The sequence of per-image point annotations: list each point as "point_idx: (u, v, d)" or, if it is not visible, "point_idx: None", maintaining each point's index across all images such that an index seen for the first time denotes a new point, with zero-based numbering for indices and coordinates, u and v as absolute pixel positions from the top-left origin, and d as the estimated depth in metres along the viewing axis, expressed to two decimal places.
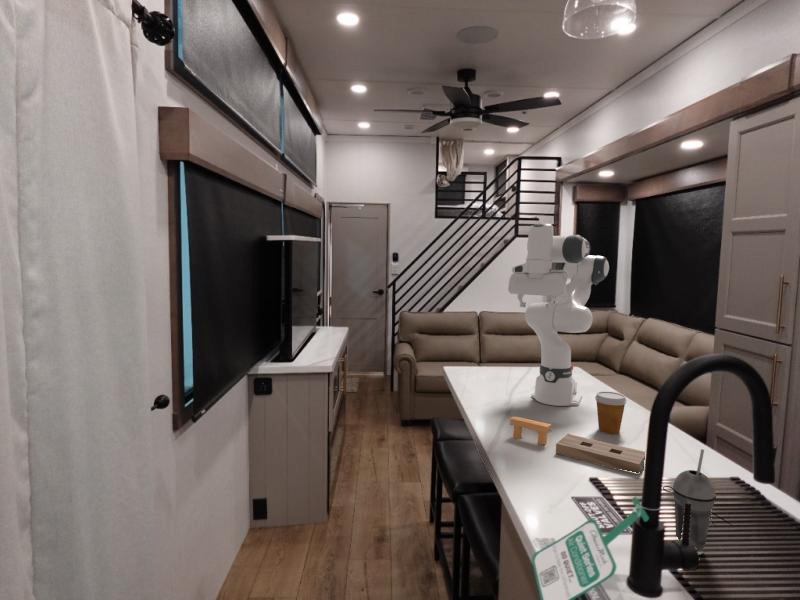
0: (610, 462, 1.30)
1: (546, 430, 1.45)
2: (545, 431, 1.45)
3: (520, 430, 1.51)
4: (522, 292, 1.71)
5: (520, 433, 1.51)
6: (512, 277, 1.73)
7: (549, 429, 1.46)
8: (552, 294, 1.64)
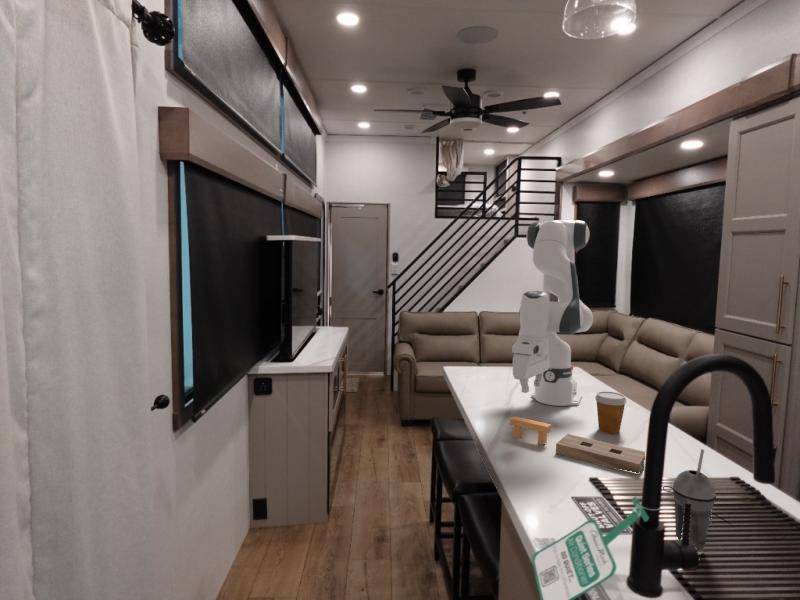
0: (610, 462, 1.30)
1: (546, 430, 1.45)
2: (545, 431, 1.45)
3: (520, 430, 1.51)
4: (532, 375, 1.43)
5: (520, 433, 1.51)
6: (529, 360, 1.39)
7: (549, 429, 1.46)
8: (545, 370, 1.52)
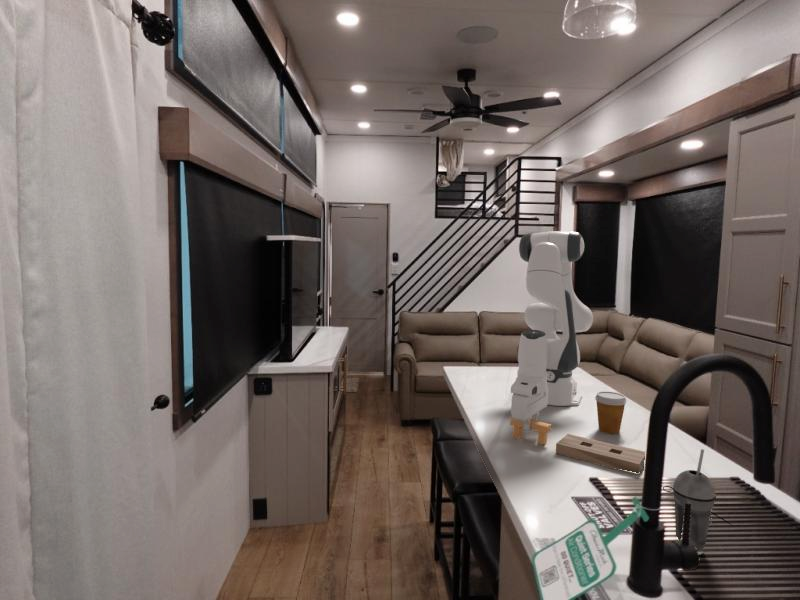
0: (610, 462, 1.30)
1: (546, 430, 1.45)
2: (545, 431, 1.45)
3: (520, 430, 1.51)
4: (530, 415, 1.44)
5: (520, 433, 1.51)
6: (527, 402, 1.40)
7: (549, 429, 1.46)
8: (544, 407, 1.53)
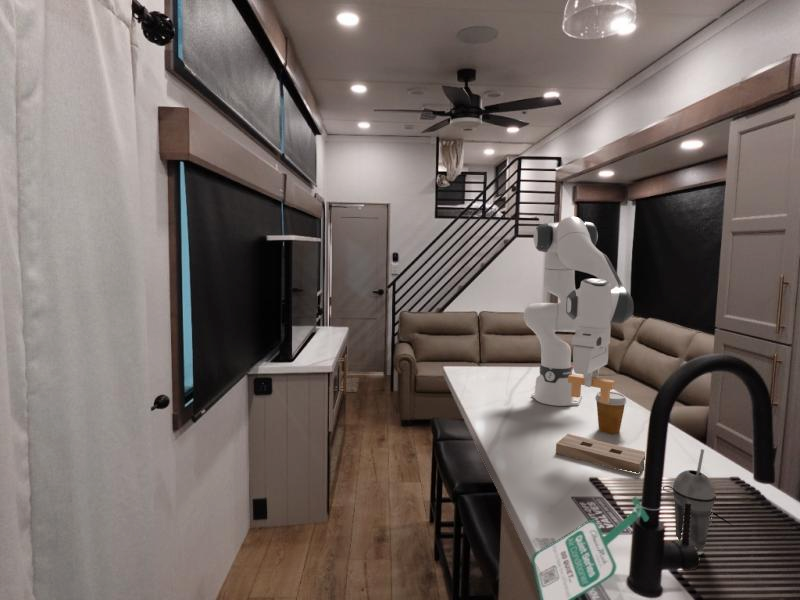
0: (610, 462, 1.30)
1: (610, 386, 1.32)
2: (609, 387, 1.32)
3: (579, 388, 1.39)
4: (593, 370, 1.32)
5: (579, 392, 1.39)
6: (592, 353, 1.28)
7: (613, 386, 1.33)
8: (604, 364, 1.40)
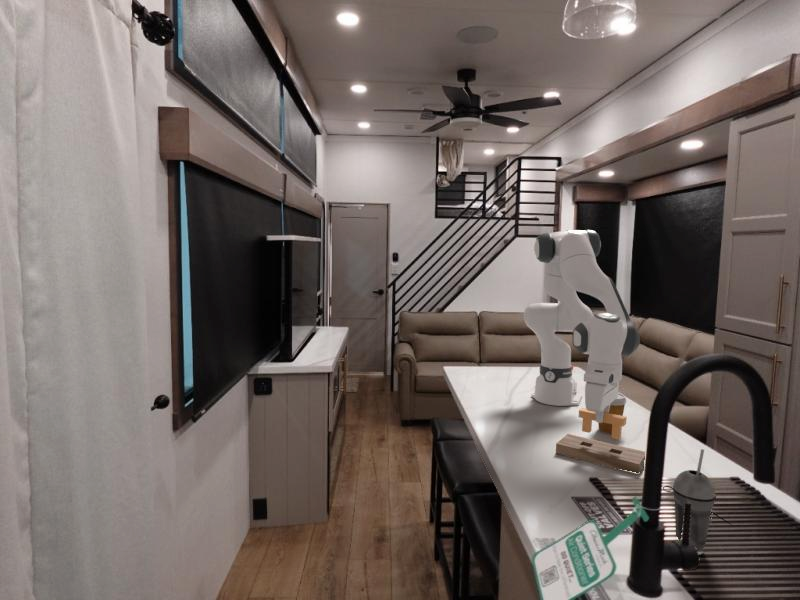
0: (610, 462, 1.30)
1: (622, 423, 1.31)
2: (621, 424, 1.31)
3: (590, 423, 1.37)
4: (605, 406, 1.31)
5: (590, 426, 1.38)
6: (604, 391, 1.27)
7: (625, 422, 1.32)
8: (615, 398, 1.39)
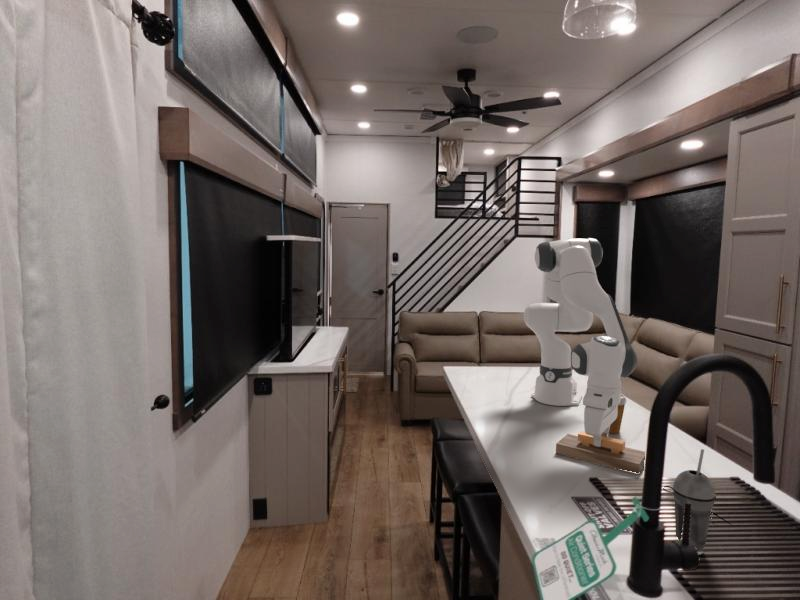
0: (610, 462, 1.30)
1: (621, 447, 1.32)
2: (620, 449, 1.32)
3: None
4: (604, 430, 1.31)
5: None
6: (603, 415, 1.28)
7: (623, 446, 1.33)
8: (614, 420, 1.40)
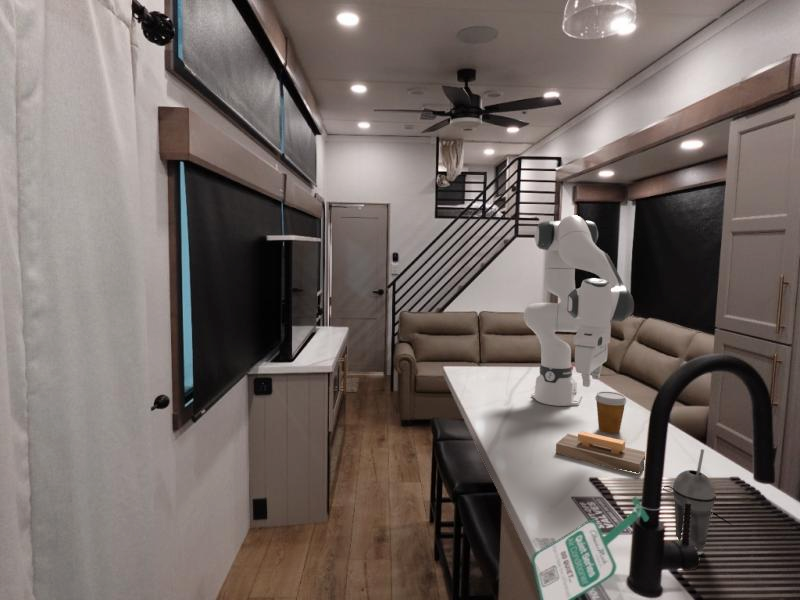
0: (610, 462, 1.30)
1: (621, 447, 1.32)
2: (620, 449, 1.32)
3: None
4: (594, 368, 1.35)
5: None
6: (593, 353, 1.31)
7: (623, 446, 1.33)
8: (604, 361, 1.43)
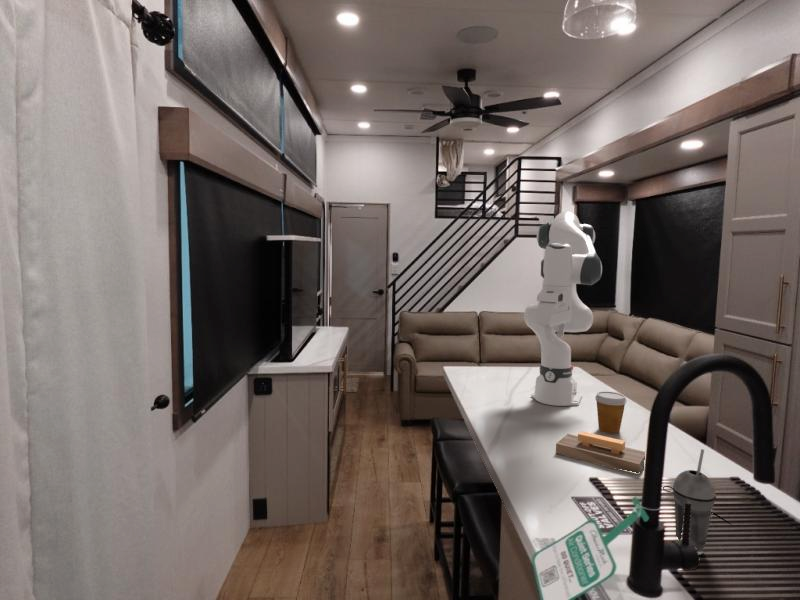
0: (610, 462, 1.30)
1: (621, 447, 1.32)
2: (620, 449, 1.32)
3: None
4: (556, 323, 1.48)
5: None
6: (554, 308, 1.44)
7: (623, 446, 1.33)
8: (567, 320, 1.56)
